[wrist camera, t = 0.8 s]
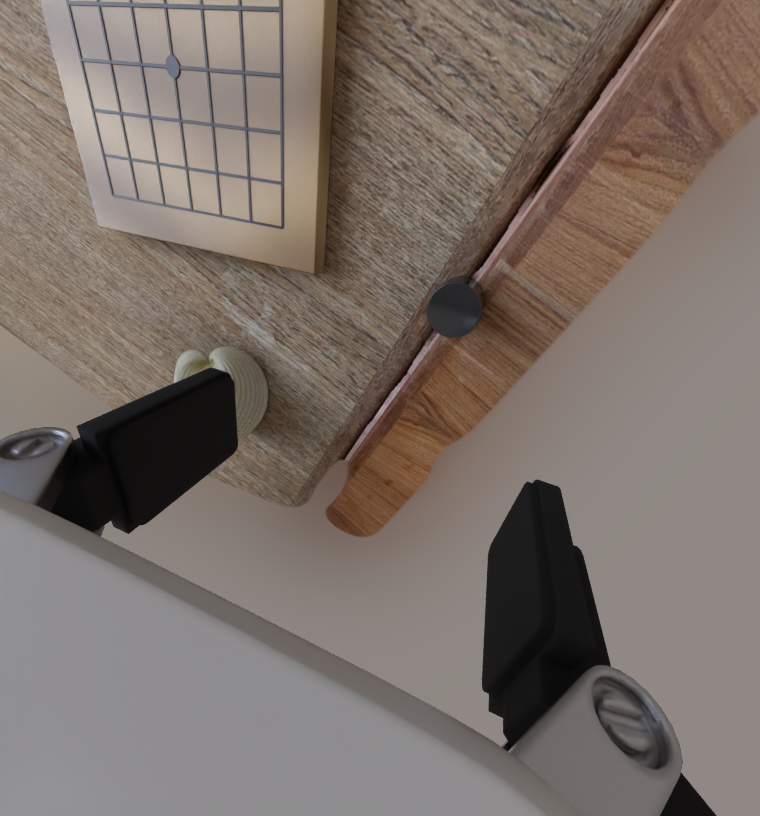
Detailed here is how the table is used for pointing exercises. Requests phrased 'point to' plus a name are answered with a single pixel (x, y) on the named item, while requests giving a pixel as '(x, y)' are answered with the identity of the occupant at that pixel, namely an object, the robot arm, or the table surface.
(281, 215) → the board
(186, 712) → the robot arm
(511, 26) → the table surface
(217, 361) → the seashell
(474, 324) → the black stone
